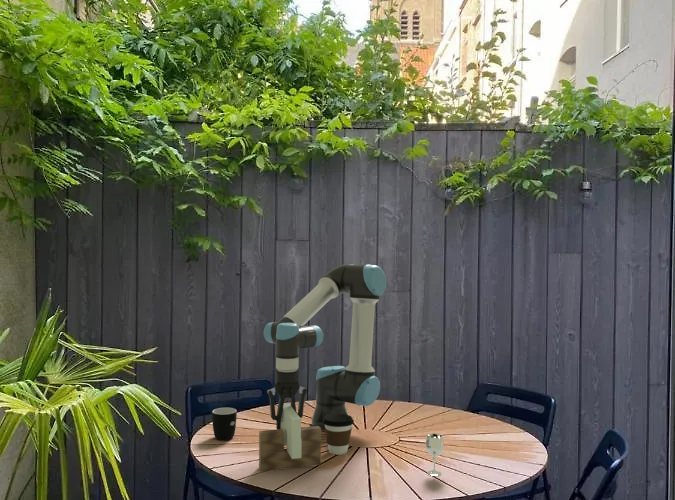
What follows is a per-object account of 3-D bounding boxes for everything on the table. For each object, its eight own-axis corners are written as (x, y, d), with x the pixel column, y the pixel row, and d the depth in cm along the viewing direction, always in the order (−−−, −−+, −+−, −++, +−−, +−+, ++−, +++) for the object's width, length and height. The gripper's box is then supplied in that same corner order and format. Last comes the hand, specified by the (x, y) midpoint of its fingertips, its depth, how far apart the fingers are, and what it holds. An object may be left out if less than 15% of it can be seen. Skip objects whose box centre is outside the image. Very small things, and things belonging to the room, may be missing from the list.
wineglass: (423, 470, 197) (423, 433, 197) (440, 469, 198) (441, 432, 198) (427, 477, 192) (427, 438, 191) (445, 476, 192) (445, 438, 192)
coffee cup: (357, 448, 217) (357, 415, 217) (348, 458, 207) (348, 423, 207) (328, 445, 221) (328, 412, 221) (317, 455, 210) (318, 420, 210)
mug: (231, 442, 223) (231, 414, 223) (208, 441, 224) (208, 413, 224) (242, 432, 235) (242, 406, 234) (220, 431, 236) (220, 404, 236)
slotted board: (318, 461, 204) (318, 426, 204) (320, 464, 201) (321, 428, 201) (259, 467, 198) (259, 430, 198) (260, 471, 195) (260, 433, 195)
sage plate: (288, 438, 210) (288, 403, 209) (301, 458, 190) (301, 419, 190) (279, 438, 209) (279, 403, 209) (291, 458, 189) (292, 420, 189)
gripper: (308, 366, 210) (307, 434, 211) (261, 368, 206) (260, 438, 206) (313, 370, 203) (312, 441, 203) (265, 373, 199) (264, 445, 199)
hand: (286, 439), depth 205 cm, fingers closed on sage plate, 3 cm apart
